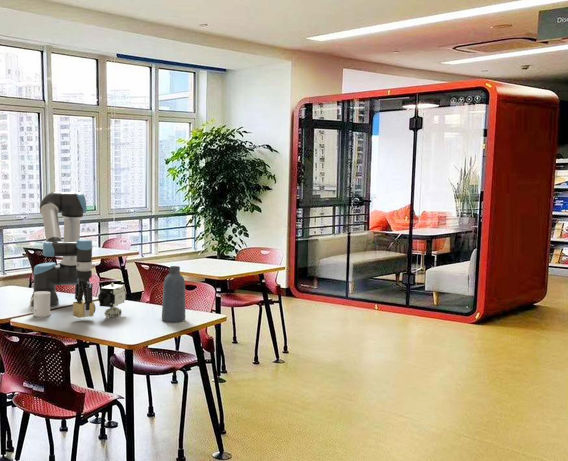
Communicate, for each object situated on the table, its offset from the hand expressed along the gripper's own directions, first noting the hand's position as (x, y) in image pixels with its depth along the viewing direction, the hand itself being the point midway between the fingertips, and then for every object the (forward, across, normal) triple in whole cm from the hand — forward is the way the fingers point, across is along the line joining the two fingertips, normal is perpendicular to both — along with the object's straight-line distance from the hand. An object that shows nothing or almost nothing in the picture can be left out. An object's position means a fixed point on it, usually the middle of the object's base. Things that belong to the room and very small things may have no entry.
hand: (83, 315), depth 314 cm
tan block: (0, 0, 0) cm, 0 cm away
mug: (+3, -24, -12) cm, 27 cm away
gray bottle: (+3, +26, +37) cm, 45 cm away
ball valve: (+3, 0, +17) cm, 17 cm away
